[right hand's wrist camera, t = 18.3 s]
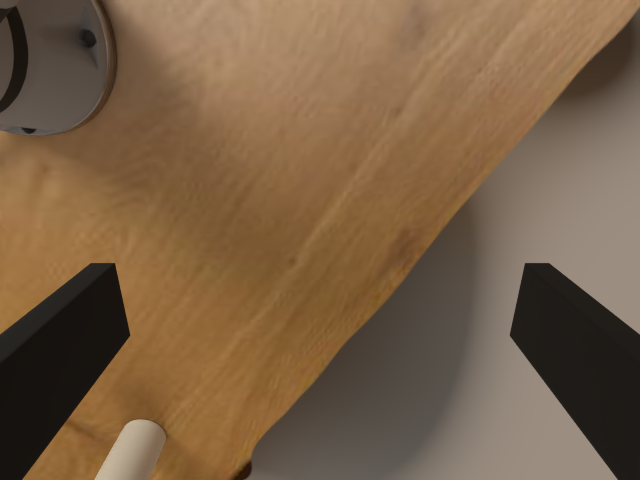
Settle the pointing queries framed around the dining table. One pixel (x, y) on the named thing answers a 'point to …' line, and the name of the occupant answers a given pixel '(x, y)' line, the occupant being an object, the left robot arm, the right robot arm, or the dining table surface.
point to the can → (134, 452)
